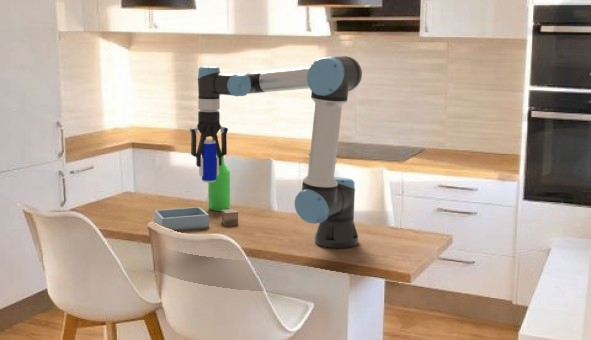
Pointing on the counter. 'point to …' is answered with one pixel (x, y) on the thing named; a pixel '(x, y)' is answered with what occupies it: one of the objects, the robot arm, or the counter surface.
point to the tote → (182, 218)
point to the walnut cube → (230, 217)
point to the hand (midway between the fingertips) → (209, 174)
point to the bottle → (220, 189)
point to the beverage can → (209, 161)
